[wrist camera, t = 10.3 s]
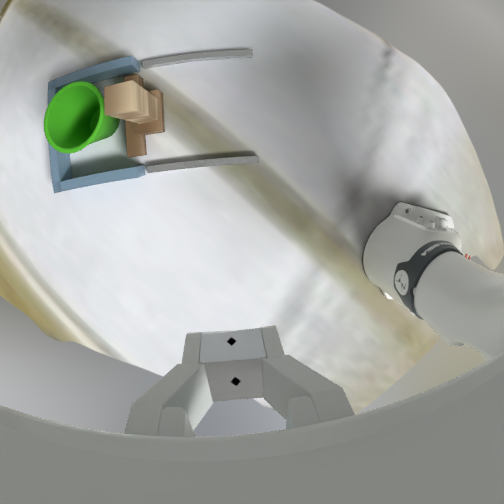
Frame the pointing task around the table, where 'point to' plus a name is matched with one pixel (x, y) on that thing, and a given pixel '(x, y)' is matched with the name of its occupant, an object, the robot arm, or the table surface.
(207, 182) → the table surface
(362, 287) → the table surface
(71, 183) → the bay
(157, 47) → the table surface
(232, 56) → the track
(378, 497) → the robot arm
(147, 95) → the stepped wooden block
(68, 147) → the cup
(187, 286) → the table surface
